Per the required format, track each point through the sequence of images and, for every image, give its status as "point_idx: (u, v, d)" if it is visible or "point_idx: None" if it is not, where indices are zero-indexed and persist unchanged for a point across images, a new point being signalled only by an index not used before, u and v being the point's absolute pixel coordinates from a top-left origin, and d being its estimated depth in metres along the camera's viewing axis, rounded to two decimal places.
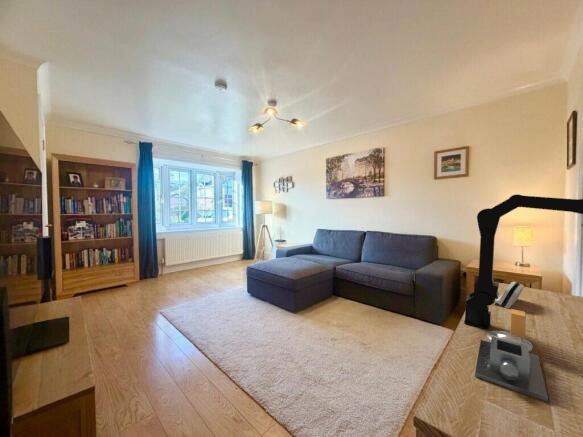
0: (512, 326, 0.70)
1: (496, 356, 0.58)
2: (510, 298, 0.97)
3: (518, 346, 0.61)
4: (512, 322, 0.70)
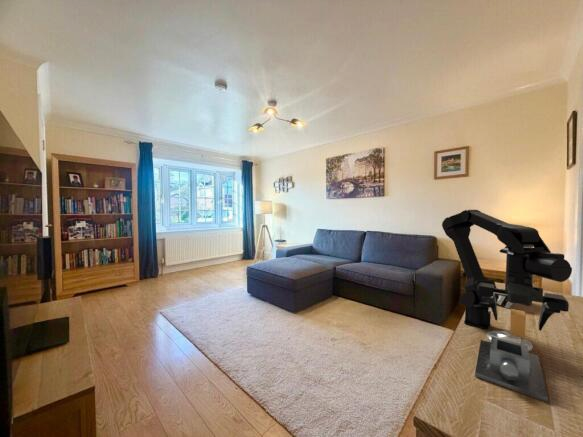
0: (512, 326, 0.70)
1: (496, 356, 0.58)
2: None
3: (518, 346, 0.61)
4: (512, 322, 0.70)
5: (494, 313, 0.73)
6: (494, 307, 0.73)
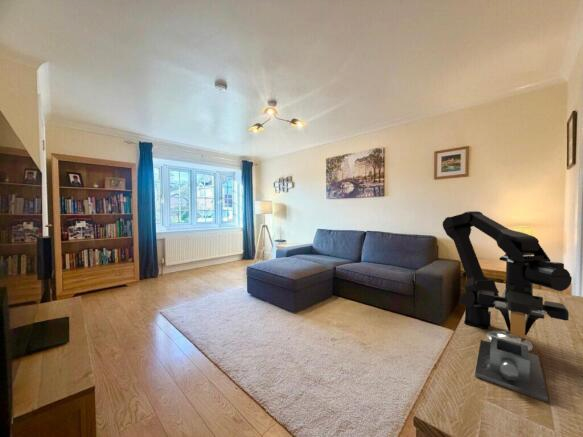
0: (512, 326, 0.70)
1: (496, 356, 0.58)
2: None
3: (518, 346, 0.61)
4: (512, 322, 0.70)
5: (508, 323, 0.71)
6: (507, 318, 0.71)
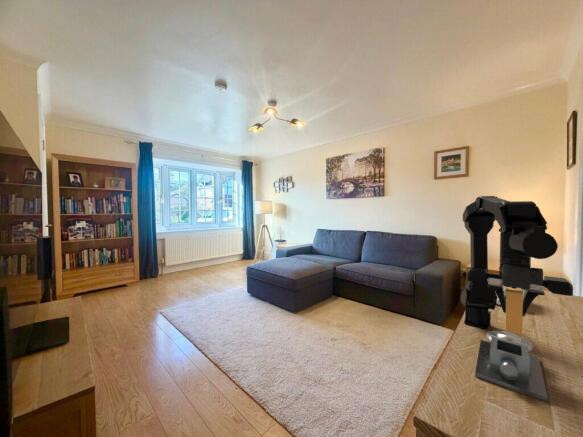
0: (508, 306, 0.60)
1: (496, 356, 0.58)
2: None
3: (518, 346, 0.61)
4: (507, 301, 0.60)
5: (502, 304, 0.62)
6: (502, 297, 0.62)
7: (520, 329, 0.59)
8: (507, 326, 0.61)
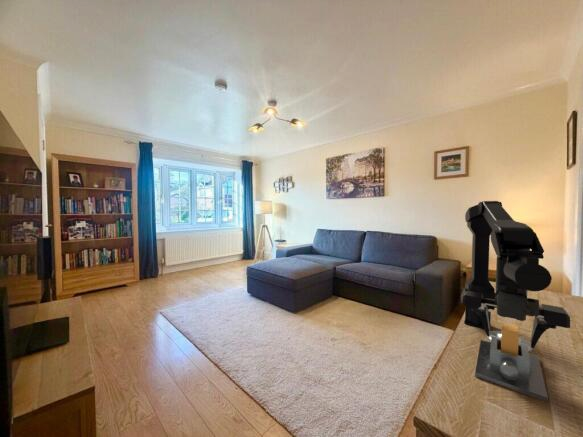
0: (503, 344, 0.59)
1: (496, 356, 0.58)
2: None
3: (518, 346, 0.61)
4: (503, 339, 0.59)
5: (486, 328, 0.62)
6: (486, 321, 0.62)
7: None
8: None
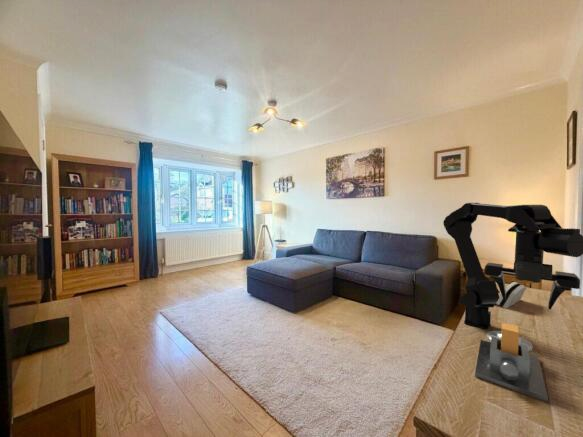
0: (503, 344, 0.59)
1: (496, 356, 0.58)
2: (508, 298, 0.97)
3: (518, 346, 0.61)
4: (503, 339, 0.59)
5: (502, 292, 0.72)
6: (502, 286, 0.72)
7: None
8: None
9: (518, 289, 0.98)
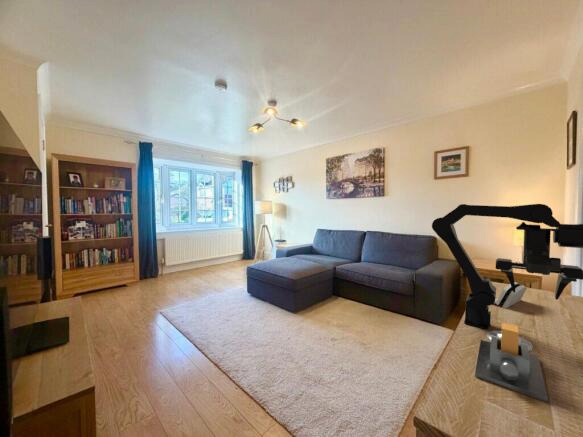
0: (503, 344, 0.59)
1: (496, 356, 0.58)
2: (507, 298, 0.97)
3: (518, 346, 0.61)
4: (503, 339, 0.59)
5: (512, 285, 0.78)
6: (512, 280, 0.78)
7: None
8: None
9: (518, 289, 0.98)
